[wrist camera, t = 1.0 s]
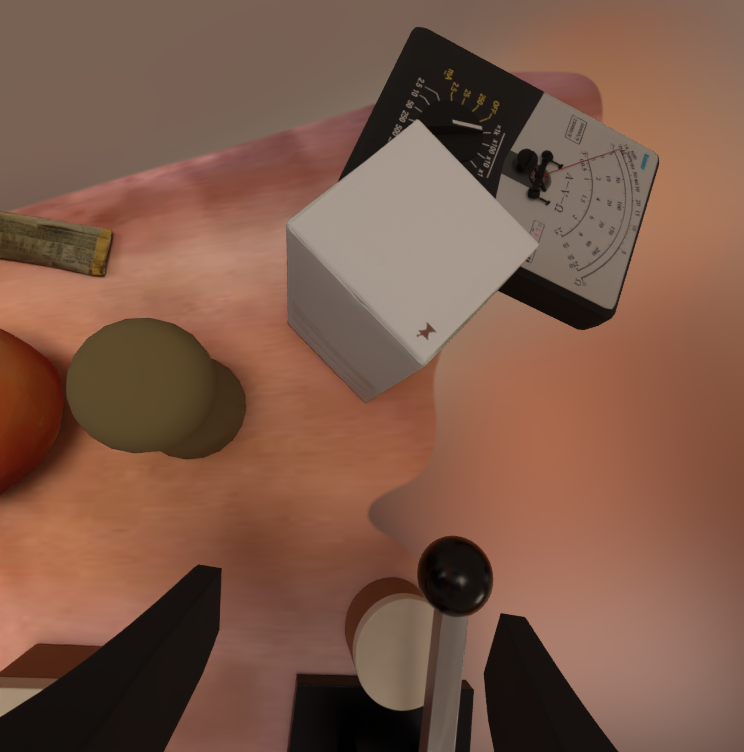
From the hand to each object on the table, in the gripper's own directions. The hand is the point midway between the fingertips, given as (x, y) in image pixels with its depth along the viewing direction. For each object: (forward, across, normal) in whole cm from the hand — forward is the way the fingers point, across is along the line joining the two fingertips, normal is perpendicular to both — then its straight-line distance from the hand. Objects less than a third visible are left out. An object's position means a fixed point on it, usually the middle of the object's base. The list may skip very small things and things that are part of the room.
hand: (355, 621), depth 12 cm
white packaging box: (+20, +2, -3) cm, 20 cm away
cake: (+12, -2, +12) cm, 17 cm away
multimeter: (+26, -5, -12) cm, 30 cm away
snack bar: (+15, +22, -5) cm, 27 cm away
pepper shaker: (+15, +11, +2) cm, 19 cm away
